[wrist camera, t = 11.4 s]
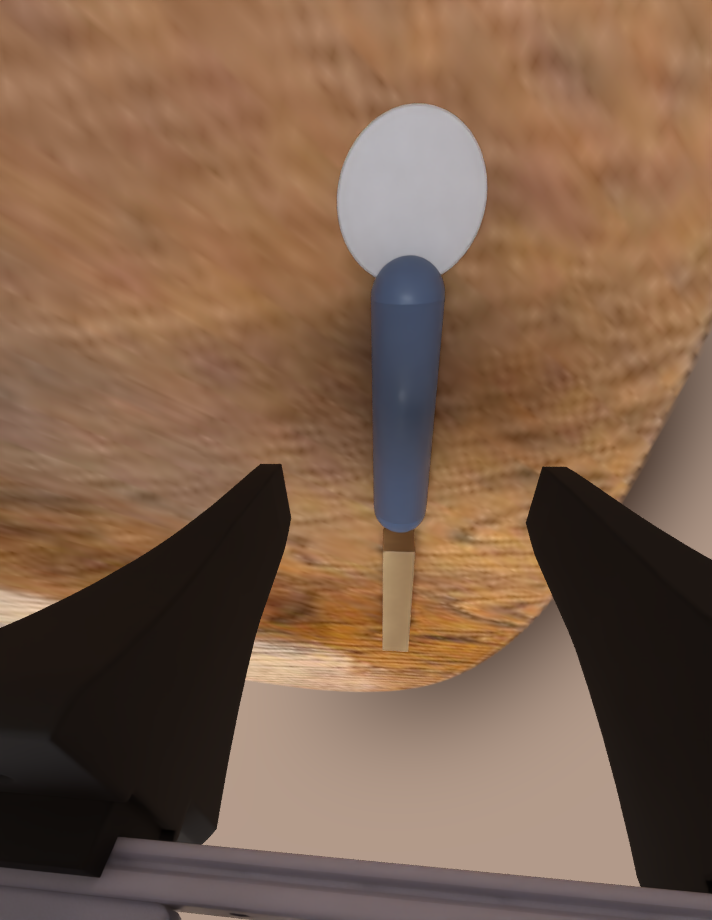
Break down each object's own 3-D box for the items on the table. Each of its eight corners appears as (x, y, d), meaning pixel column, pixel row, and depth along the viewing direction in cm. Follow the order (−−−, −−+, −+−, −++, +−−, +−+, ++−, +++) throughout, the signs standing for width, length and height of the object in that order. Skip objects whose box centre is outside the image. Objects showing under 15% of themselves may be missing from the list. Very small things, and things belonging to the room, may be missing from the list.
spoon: (442, 509, 19) (449, 545, 17) (355, 507, 19) (351, 542, 17) (491, 105, 10) (516, 79, 8) (335, 116, 11) (323, 94, 9)
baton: (383, 627, 25) (382, 650, 23) (383, 528, 20) (382, 551, 18) (407, 628, 24) (408, 652, 23) (413, 529, 19) (415, 552, 18)
